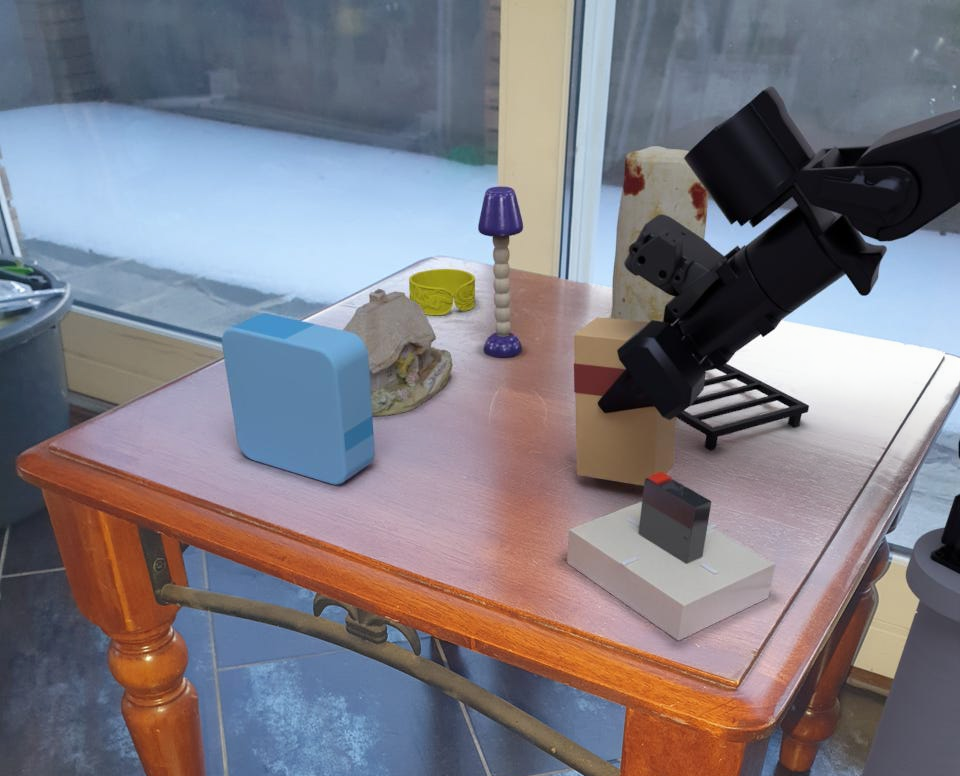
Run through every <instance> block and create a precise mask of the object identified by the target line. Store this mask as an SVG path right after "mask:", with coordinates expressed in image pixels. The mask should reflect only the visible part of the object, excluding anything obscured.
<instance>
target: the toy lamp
mask: <svg viewBox="0 0 960 776" xmlns="http://www.w3.org/2000/svg"><path fill="white" fill-rule="evenodd" d="M477 229H478V233H479V234H480V235H483V236H485V237H492V245H493V247H494V248H493V250H492V258H493V261H494V264H493V268H492V271H493V272H492V273H493V275H494V278H493V289H494V295H493V302H494V305H495V308H494V318H495V323H494V324H495V325H494V330H495V332H494V333H492V334H490V335H488V337H487V338H486V340H485V342H484V345H483V352H484V353H485V354H486V355H488V356H490V357H495V358H512V357H516V356H517V355H519V354H521V352H522V351H523V347H522V342H521V340H520V339H519V337H518V336H516V334H514V333H512V332H511V329H512V324H511V322H510V319H511V315H512V314H511V308H510V304H511V295H510V288H511V281H510V278H509V276H510V273H511V272H510V270H511V269H510V263H509V260H510V249H509V245H510V237H512V236H516V235H518V234H520V233H522V232H523V230H524V222H523V218H522V214H521V210H520V205H519V202H518V198H517V195H516V192H515V189H514V188H513V187H510V186H493V187H489V188H488V189H486V190H485V193H484V196H483V200H482V205H481V211H480V215H479V219H478V225H477Z"/></svg>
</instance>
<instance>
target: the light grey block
mask: <svg viewBox="0 0 960 776" xmlns="http://www.w3.org/2000/svg"><path fill="white" fill-rule="evenodd" d="M641 507H642V501H639V502H637V503H634V504H631V505H629V506H626V507H623V508H620V509H618V510H615V511H613V512H610V513H608V514H604V515H602V516H600V517H597V518H594V519H592V520H588V521H587V522H584V523H581V524H579V525H576V526H574V527H571V528H569V529H568V539H567V553H566V555H567V556H566V564H567V565H569V566H571V567H572V568H573V569H575V570H577V572H579V573H580V574H582V575H583V576H584V577H586V578H588V579H589V580H591V582H593V583H595V584H596V585H598V586H599V587H600V588H602V589H603V590H605V591H606V592H607V593H609V594H610V595H612V596H613V597H614V598H616V599H618V600H619V601H620V602H622V603H623V604H625V605H626V606H627V607H629V608H630V609H632V610H633V611H634V612H636V613H638V614H639V615H640V616H642V617H643V618H644V619H646V620H647V621H648V622H650V623H652V624H653V625H655V626H656V627H657V628H659V629H660V630H662V631H663V632H665V633H666V634H668V635H669V636H670V637H672V638H673V639H674V640H676V641H678V642H679V641H681V640H683V639H685V638H688V637H690V636H692V635H695V634H696V633H699V632H700V631H702V630H705V629H706V628H709V627H710V626H713V625H715V624H716V623H717V624H718V623H719V622H721V621H723V620H725V619H728V618H729V617H731V616H733V615H735V614H737V613H740V612H742V611H744V610H746V609H748V608H750V607H753V606H755V605H757V604H759V603H760V602H763V601H765V600H767V599H769V597H770V596H769V595H770V591H771V586H772V582H773V578H774V573H775V568H776V562H774V561H772V560H771V559H769V558H767V557H766V556H764V555H762V554H760V553H759V552H757V551H755V550H754V549H752V548H750V547H748V546H746V545H745V544H743V543H741V542H740V541H738V540H736V539H734V538H733V537H731V536H729V535H727V534H726V533H724V532H722V531H721V530H718V529H717V527H718V526H717V525H716V524H714V523H712V524H708V526H707V532H706V538H705V544H704V551H703V556H702V557H700V558H698V559H696V560H693V561H691V562H689V563H685V562H683V561H682V560H680V559H679V558H677V557H675V556H674V555H672V554H671V553H669V552H667V551H666V550H664V549H663V548H661V547H659V546H658V545H656V544H655V543H653V542H651V541H650V540H648V539H647V538H645V537H643V536H642V535H640V534H639V524H640V515H641Z"/></svg>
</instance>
